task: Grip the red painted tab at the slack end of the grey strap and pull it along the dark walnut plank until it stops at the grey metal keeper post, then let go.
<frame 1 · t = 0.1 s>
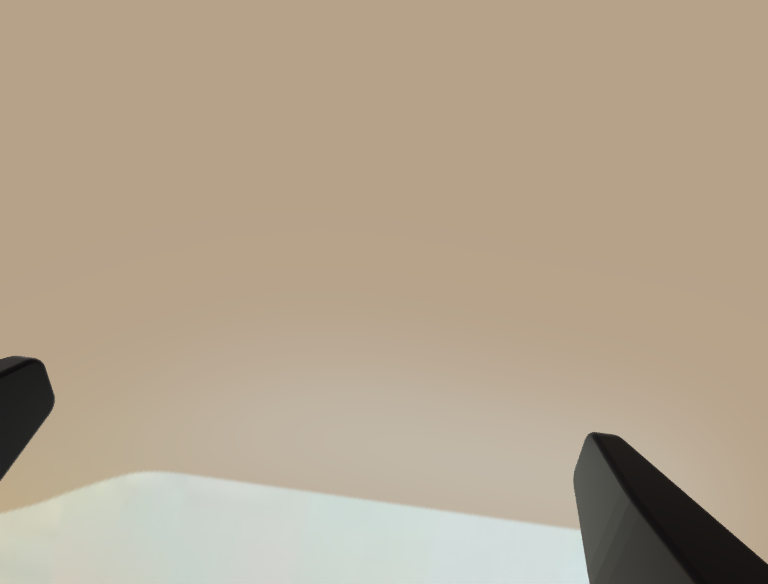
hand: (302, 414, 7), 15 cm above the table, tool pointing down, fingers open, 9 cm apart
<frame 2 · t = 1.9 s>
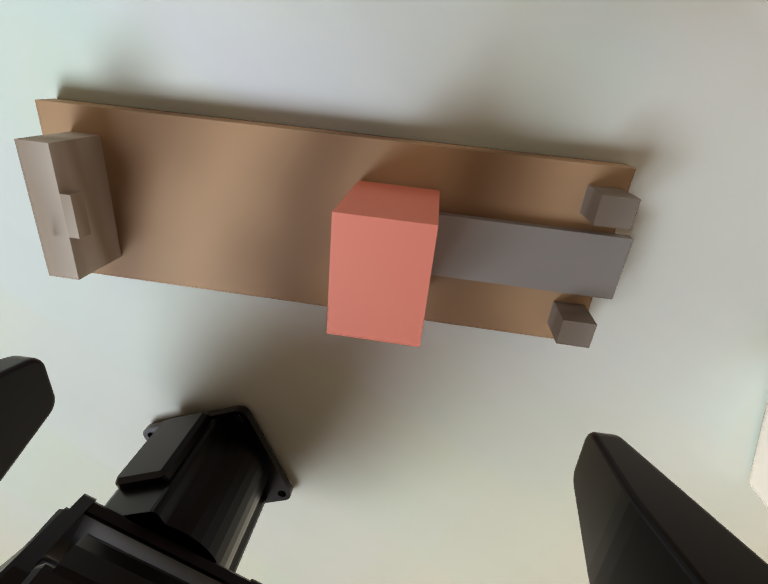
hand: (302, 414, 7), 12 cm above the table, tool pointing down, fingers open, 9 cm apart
tab: (489, 270, 15), point 3 cm above the table, slide at 0.0 cm
plank: (277, 213, 19), on the table
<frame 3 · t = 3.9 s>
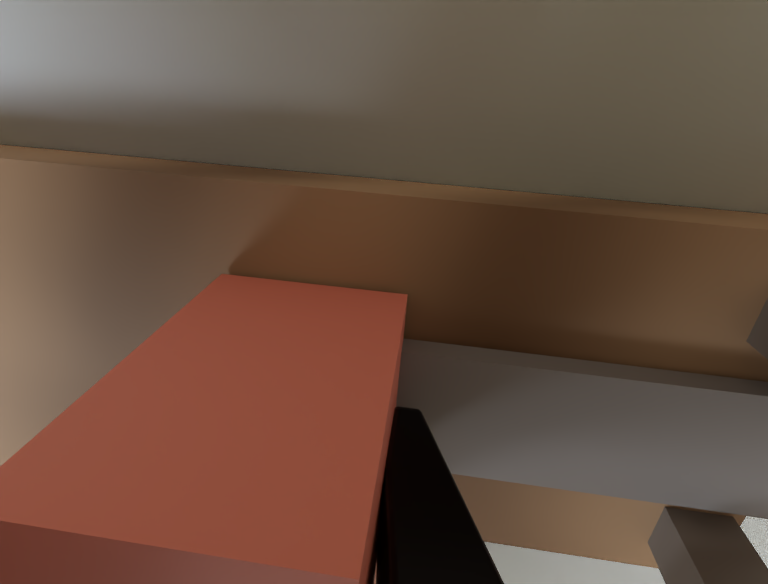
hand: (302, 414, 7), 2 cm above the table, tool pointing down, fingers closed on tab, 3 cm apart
tab: (538, 528, 6), point 3 cm above the table, slide at 0.0 cm, touching gripper
plank: (93, 323, 9), on the table
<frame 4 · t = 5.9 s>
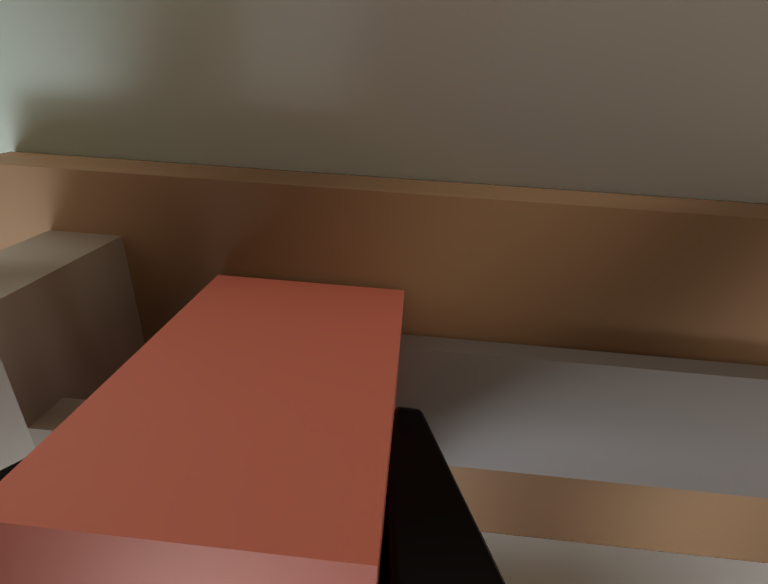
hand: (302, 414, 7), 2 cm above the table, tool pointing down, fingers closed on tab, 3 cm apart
tab: (540, 514, 6), point 3 cm above the table, slide at 8.5 cm, touching gripper
plank: (503, 366, 9), on the table
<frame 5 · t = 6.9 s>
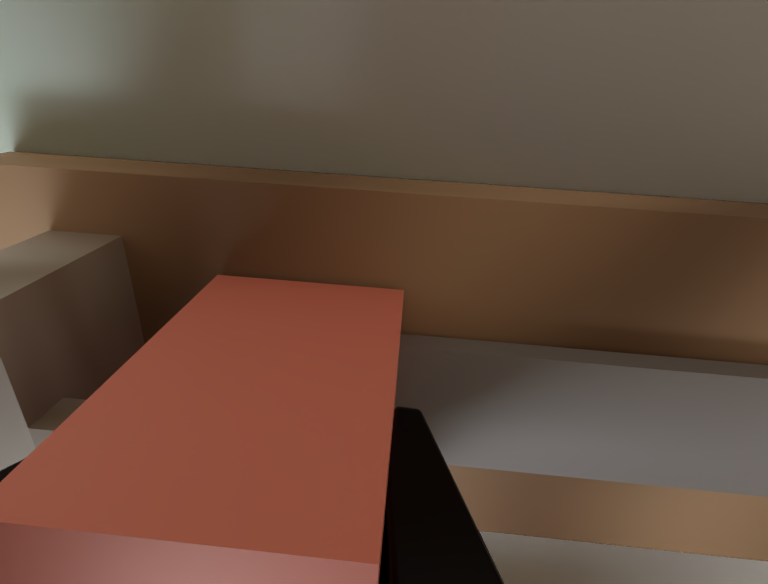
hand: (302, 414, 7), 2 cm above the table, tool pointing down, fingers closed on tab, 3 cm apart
tab: (539, 513, 6), point 3 cm above the table, slide at 8.5 cm, touching gripper
plank: (503, 366, 9), on the table
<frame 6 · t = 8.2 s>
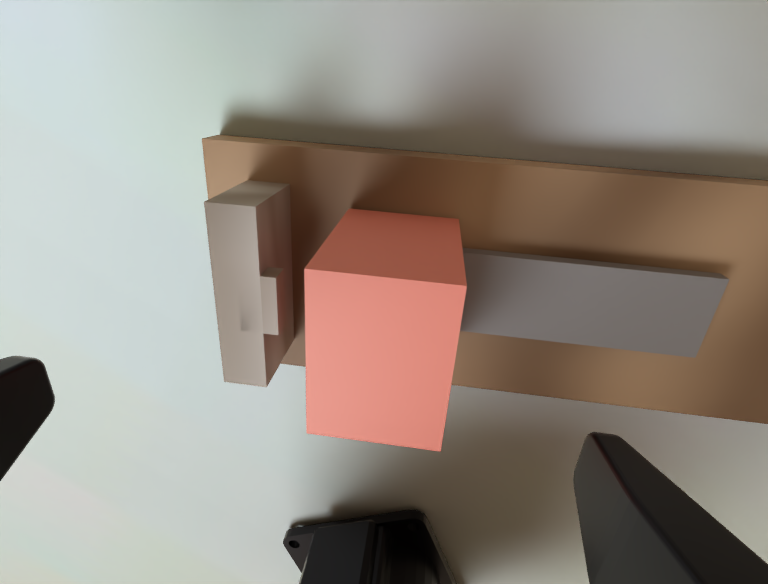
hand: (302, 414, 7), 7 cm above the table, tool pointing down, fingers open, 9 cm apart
tab: (534, 332, 11), point 3 cm above the table, slide at 8.4 cm
plank: (511, 278, 14), on the table
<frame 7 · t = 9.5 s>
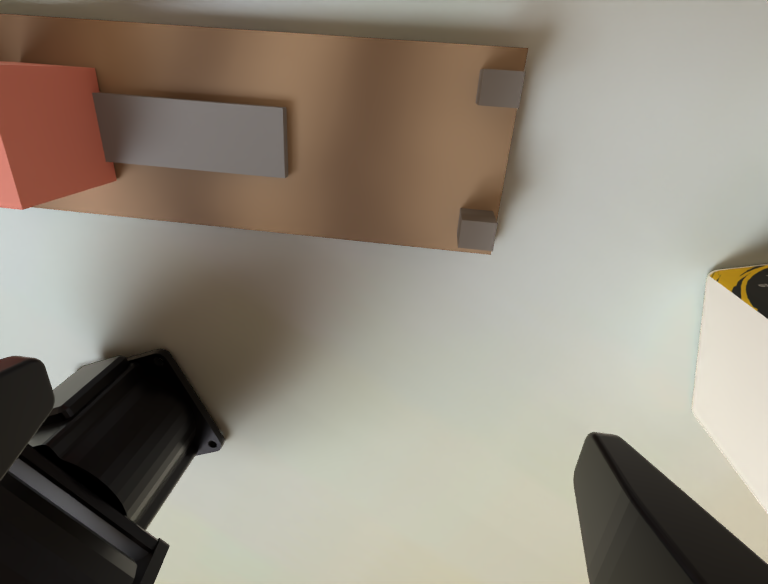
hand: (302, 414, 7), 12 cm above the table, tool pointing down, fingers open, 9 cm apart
tab: (118, 138, 15), point 3 cm above the table, slide at 8.4 cm
plank: (171, 128, 18), on the table
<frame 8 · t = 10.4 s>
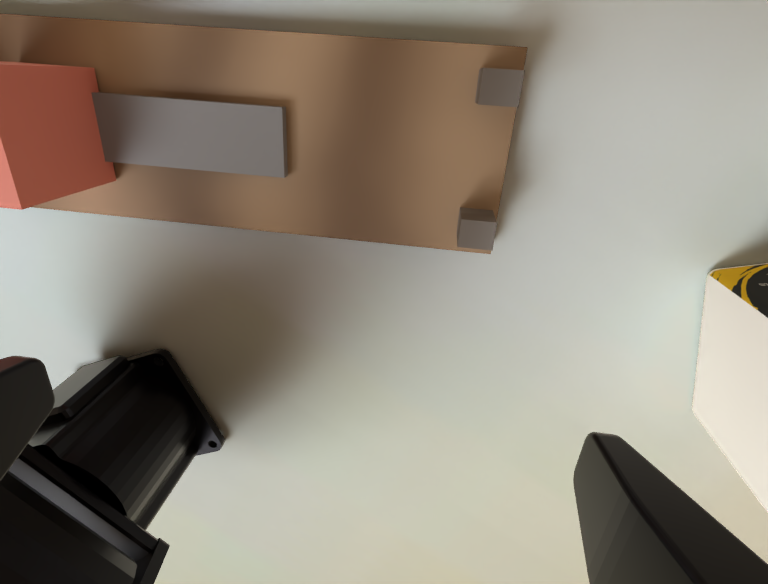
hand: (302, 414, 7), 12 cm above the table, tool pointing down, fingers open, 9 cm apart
tab: (117, 138, 15), point 3 cm above the table, slide at 8.4 cm
plank: (170, 128, 18), on the table
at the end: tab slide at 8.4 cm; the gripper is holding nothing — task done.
